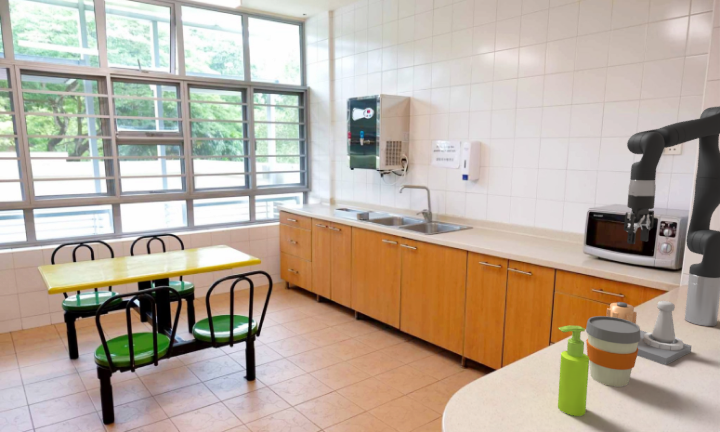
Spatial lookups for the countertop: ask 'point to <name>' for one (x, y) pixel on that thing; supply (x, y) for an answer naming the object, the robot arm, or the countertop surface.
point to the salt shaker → (664, 323)
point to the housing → (650, 338)
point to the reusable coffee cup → (612, 349)
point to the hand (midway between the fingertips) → (637, 242)
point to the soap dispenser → (573, 374)
